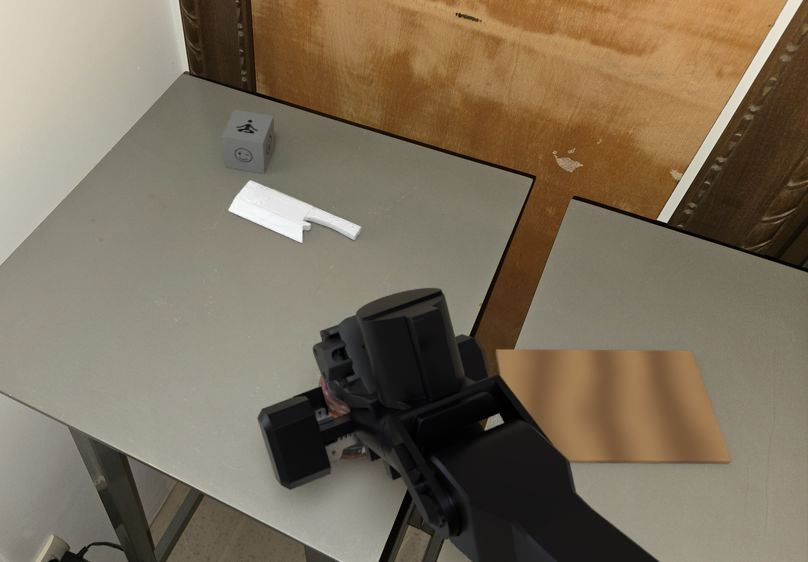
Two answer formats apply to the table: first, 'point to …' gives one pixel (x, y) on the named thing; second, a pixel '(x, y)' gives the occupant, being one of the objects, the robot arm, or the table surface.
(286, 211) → the white plastic blade
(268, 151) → the dice cube
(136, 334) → the table surface
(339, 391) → the supplement bottle
